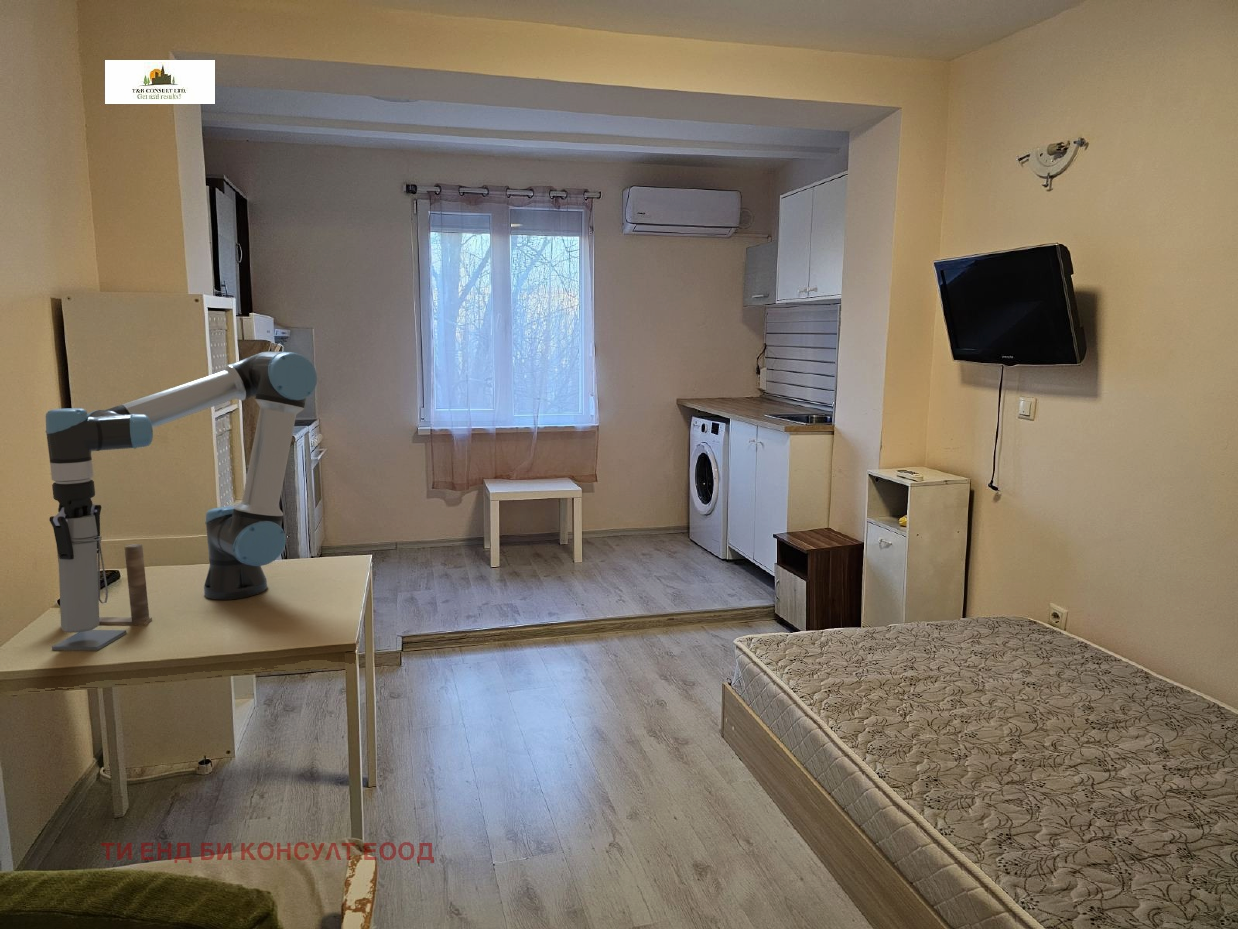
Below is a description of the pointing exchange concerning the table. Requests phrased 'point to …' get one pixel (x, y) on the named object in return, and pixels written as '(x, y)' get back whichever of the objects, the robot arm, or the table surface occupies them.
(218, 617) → the table surface
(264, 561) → the robot arm
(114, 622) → the gate
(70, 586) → the water bottle
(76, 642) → the pad
